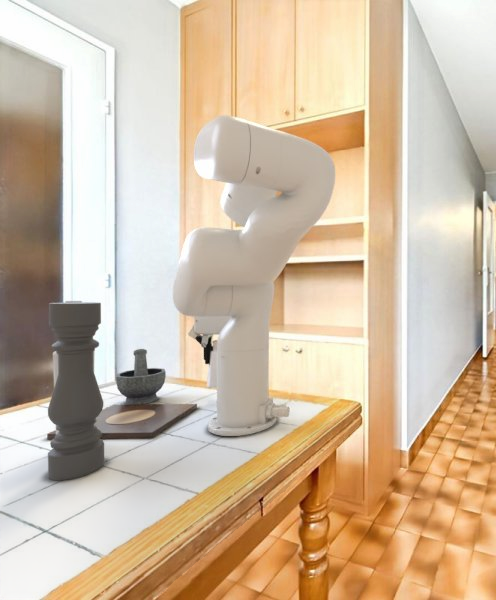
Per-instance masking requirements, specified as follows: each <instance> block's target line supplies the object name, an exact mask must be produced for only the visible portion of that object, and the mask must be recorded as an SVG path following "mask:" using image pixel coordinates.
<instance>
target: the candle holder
mask: <svg viewBox="0 0 496 600" xmlns="http://www.w3.org/2000/svg"><path fill="white" fill-rule="evenodd" d="M101 324H102V303H101V302H93V301H90V302H87V301H85V302H84V301H82V302H68V303H65V302H49V303H48V326H49V327H51V332H52V333H53V334H54V335H55V337H56V338H57V341H56V342H54V343H53V344H51V350H52V351H53V352H55V351H56V353H57V354H58V377H57V381H56V384H55V387H54V386H53V391H52V394H51V398H50V401H49V405H48V408H47V416H48V418H49V420H50V421H51V423H52V424H53V425H55V430H56V429H57V430H58V431H59V432H58V433H57V434H56V435H55V437H54V439H50V444H49V445H50V448H52V449H51V450H49V451H48V452H47V473H48V474H47V475H48V477H47V478H48V479H49V480H51V481H66V480H67V481H68V480H73V479H77V478H81V477H84V476H86V475H90V474H91V473H94V472H96V471H97V470H99V469H101V468H102V467H103V466H104V464H105V441H104V439H102V438H100V437H101V436H102V433H101V431H100V430H99V429H98V428H97V427H96V426H94V424H95V423H96V419H95V418H96V417H97V416H98V415H99V414H100V413H101V411H102V410H103V409H104V399H103V396H102V393H101V390H100V387H99V383H98V381H97V377H96V375H95V370H94V371H93V351H94V352H95V351H96V349H97V348H98V347H99V346H100V342H99V341H98V340H96V339H94V336H95V335H96V333H97V331H98V330H99V329H100V328H99V325H101ZM56 425H57V426H56Z"/></svg>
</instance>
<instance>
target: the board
mask: <svg viewBox="0 0 496 600" xmlns="http://www.w3.org/2000/svg"><path fill="white" fill-rule="evenodd" d="M197 409H198V404H197V403H154V404H153V403H146V404H126V403H125V404H123V403H122V404H119V403H118V404H112V405H110V406H107V407H106V408H103V409H102V411H101V413H100V414H99V415H98V416H97V417H96V418H95V419H96V423H95V424H94V426H96V427H97V428H98V429H99V430H100V431H101V433H102V436H101V437H100V438H99V439H152V438H154V437H155V436H158V434H160V433H162V432H163V431H165V430H166V429H168V428H169V427H171V426H172V425H174V424H175V423H177V422H179V421H180V420H182V419H183V418H184V417H186V416H187V415H190V413H192V412H194V411H195V410H197ZM55 435H56V429H55V430H53V431H50V432H48V433H47V434H46V439H47V440H53V439H54V437H55Z"/></svg>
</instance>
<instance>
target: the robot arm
mask: <svg viewBox="0 0 496 600" xmlns="http://www.w3.org/2000/svg"><path fill="white" fill-rule="evenodd" d="M193 164H194V168H195V170H196V172H197V174H198V175H199V176H200V177H201V178H203V179H205V180H211V181H216V182H221V183H225V184H224V185H225V186H224V187H223V191H222V194H221V196H220V206H221V209H222V211H223V212H224V214H225V216H227V217H228V218H229V219H230V220H231V221H232V222H234V223H235V224H237V225H239V226H241V227H243V228H242V229H229V228H222V227H221V228H220V227H207V226H206V227H205V226H204V227H199V228H195V229H193V230H192V231H191V232H189V233H188V235H187V236H186V237H185V240H184V243H183V246H182V249H181V252H180V257H179V260H178V265H177V268H176V273H175V276H174V281H173V285H172V301H173V304H174V306H175V308H176V310H177V311H178V312H179V313H180V314H182V315H183V316H186V317H192V318H193V317H194V318H193V325H192V327H191V328H190V330H189V332H188V336H189V337H190V338H192V339H193V340H195V341H196V342H198V344H199V345H200V346H201V348H203V360H204V364H205V365H209V362H210V352H211V351H213V343H212V342H213V339H214V338H213V337H214V336H215V335H217V336H218V337H217V339H216V340H217V388H216V415H215V416H214V417H212V418H211V419H210V420H209V421H208V422H207V430H208V431H209V433H211V434H213V435H216V436H221V437H239V436H246V435H252V434H256V433H259V432H261V431H265V430H267V429H269V428H270V427H272V426H274V424H276V422H277V417H279V418H288V417H289V416H290V408H291V407H290V406H287V404H286V403H280V404H276V403H275V402H274V397H271V396H269V395H270V394H269V391H270V390H269V387H270V385H269V384H270V381H269V380H270V373H269V372H270V369H269V368H270V325H271V324H270V323H271V314H272V307H273V302H274V296H275V284H274V282H275V280H277V279H278V277H279V276H280V275H281V273H282V271H283V270H284V269H285V267H286V265H287V263H288V261H289V260H290V258H291V257H292V255H293V253H294V252H295V250H296V248H297V247H298V244H299V243H300V241H301V240H302V239H303V238H304V237H305V235H306V234H307V233H309V231H310V230H311V229H312V228H313V227H314V226H315V225H316V224H317V223H318V221H319V220H320V219H321V218H322V216H323V215H324V213H325V212H326V210H327V208H328V206H329V204H330V201H331V199H332V196H333V192H334V189H335V184H336V183H335V182H336V167H335V162H334V160H333V158H332V156H331V154H329V152H328V151H327V150H325V149H324V148H323V147H322V146H320V145H318V144H317V143H315V142H313V141H311V140H309V139H306V138H303V137H300V136H297V135H295V134H292V133H288V132H285V131H283V130H279V129H276V128H272V127H270V126H266V125H262V124H260V123H256V122H253V121H250V120H246V119H244V118H241V117H237V116H233V115H228V114H224V115H219V116H216V117H215V118H213V119H212V120H209V121H208V122H207V123H206V124H204V125H203V127H201V129H200V131H199V132H198V134H197V136H196V139H195V142H194V146H193ZM279 192H281V193H280V194H278V193H279Z"/></svg>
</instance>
